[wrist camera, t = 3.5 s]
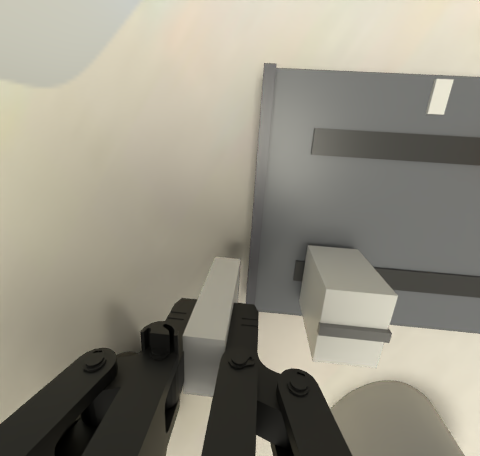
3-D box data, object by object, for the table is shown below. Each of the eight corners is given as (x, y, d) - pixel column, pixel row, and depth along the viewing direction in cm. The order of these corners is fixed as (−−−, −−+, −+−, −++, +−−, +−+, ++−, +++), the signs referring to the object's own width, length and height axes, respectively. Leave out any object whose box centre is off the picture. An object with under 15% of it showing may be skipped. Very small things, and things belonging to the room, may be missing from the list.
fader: (298, 300, 17) (312, 365, 12) (306, 245, 16) (326, 292, 11) (346, 305, 17) (380, 372, 12) (358, 249, 16) (402, 299, 11)
